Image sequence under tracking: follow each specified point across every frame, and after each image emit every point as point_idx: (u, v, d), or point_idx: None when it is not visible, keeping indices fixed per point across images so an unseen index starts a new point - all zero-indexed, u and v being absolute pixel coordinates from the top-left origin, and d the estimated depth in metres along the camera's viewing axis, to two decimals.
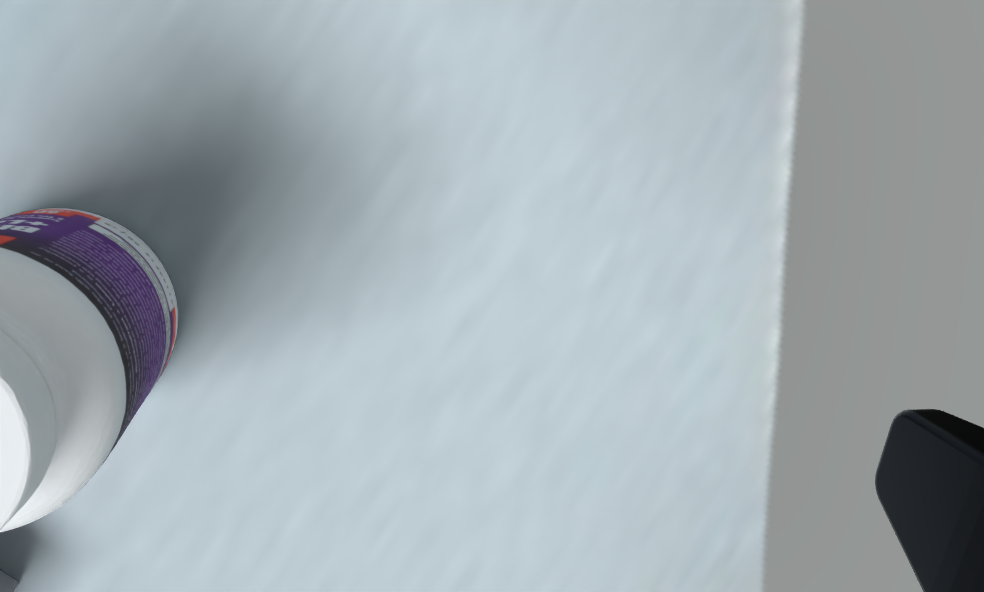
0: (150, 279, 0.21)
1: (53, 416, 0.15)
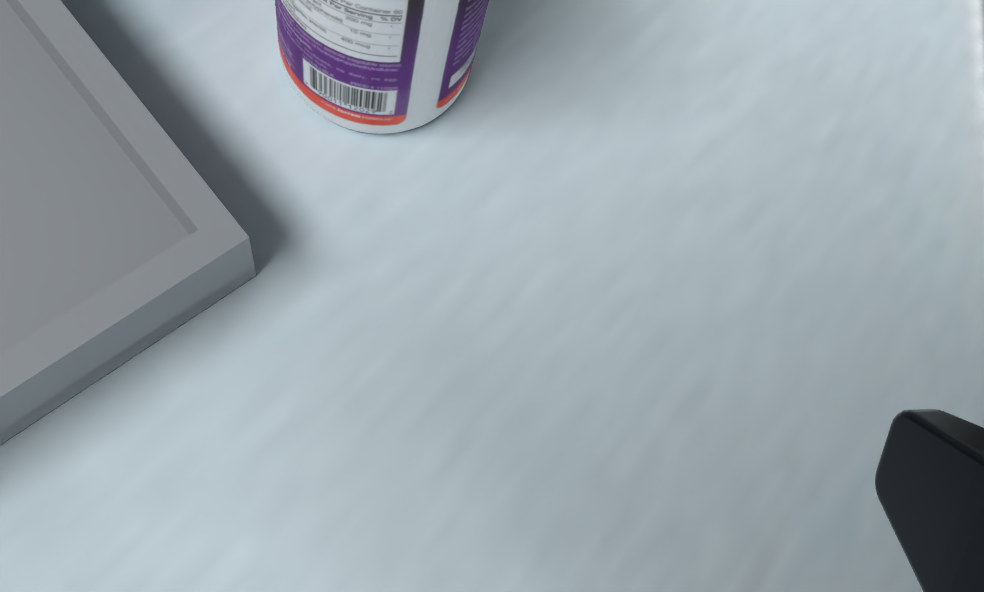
0: None
1: None
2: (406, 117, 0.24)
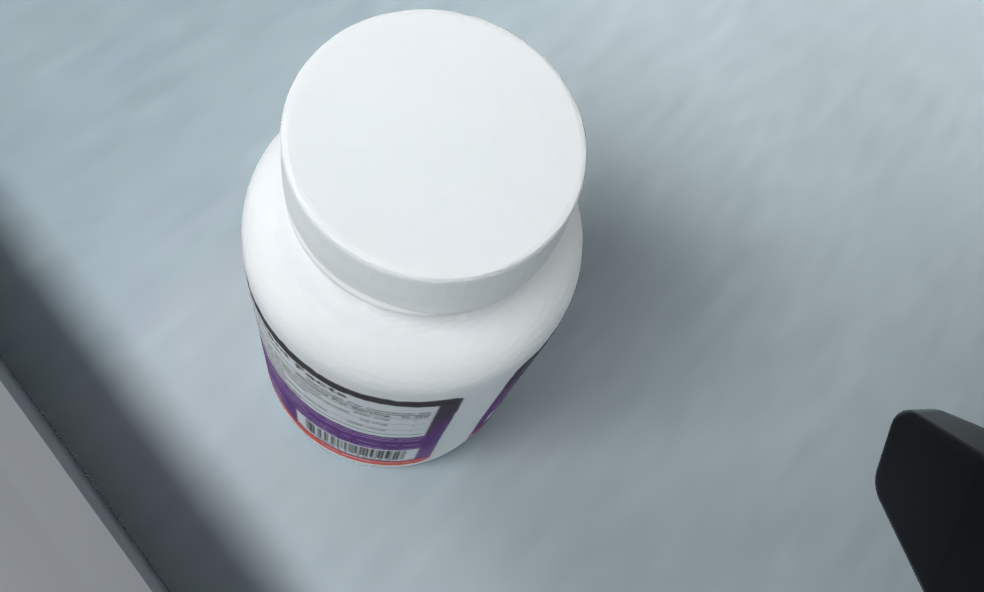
0: None
1: None
2: (429, 457, 0.19)
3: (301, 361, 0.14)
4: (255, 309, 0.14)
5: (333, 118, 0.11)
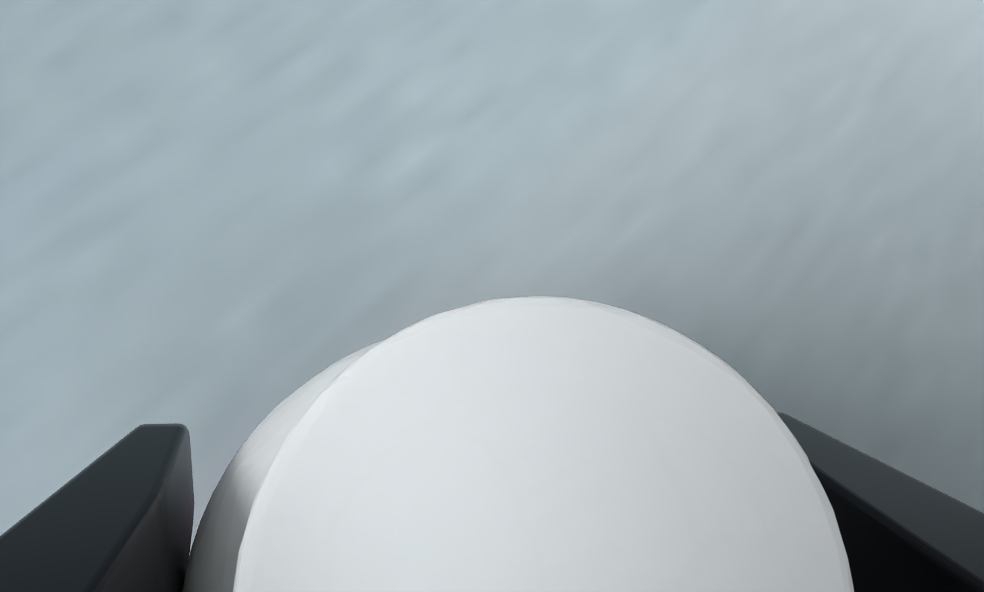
0: None
1: None
2: None
3: None
4: None
5: (345, 571, 0.05)
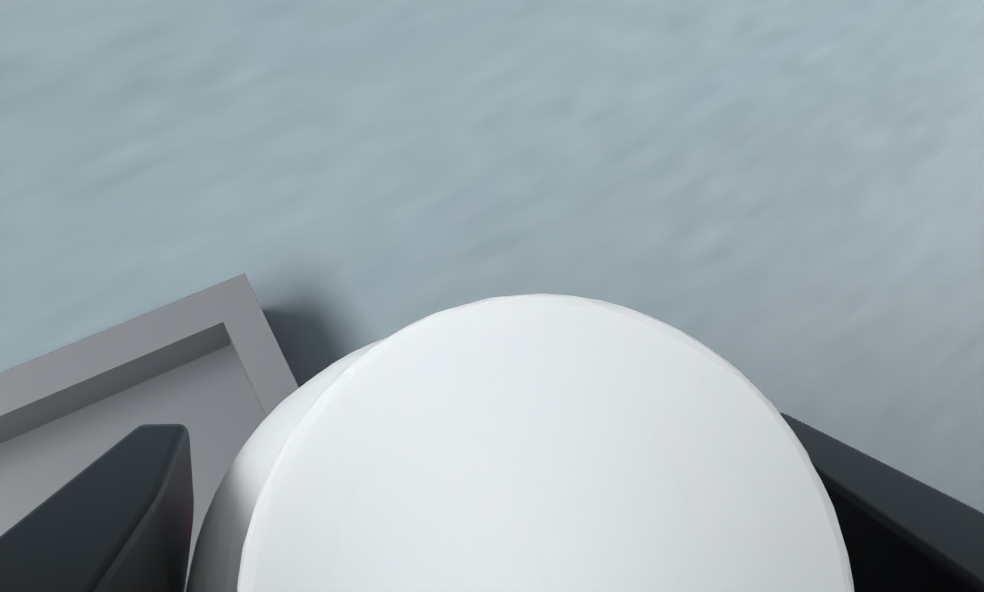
0: None
1: None
2: None
3: None
4: None
5: (348, 567, 0.05)
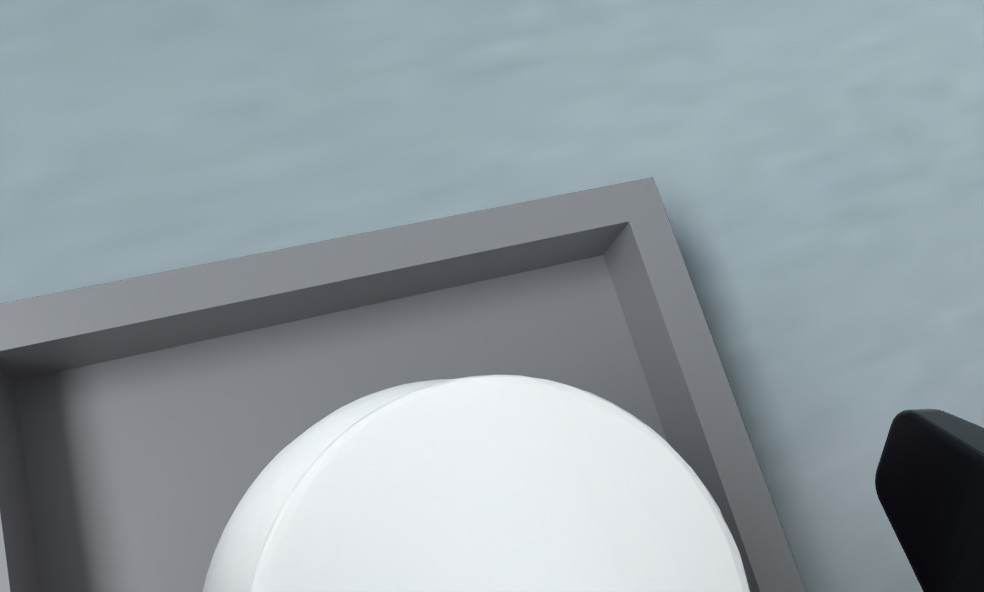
0: None
1: None
2: None
3: None
4: None
5: None
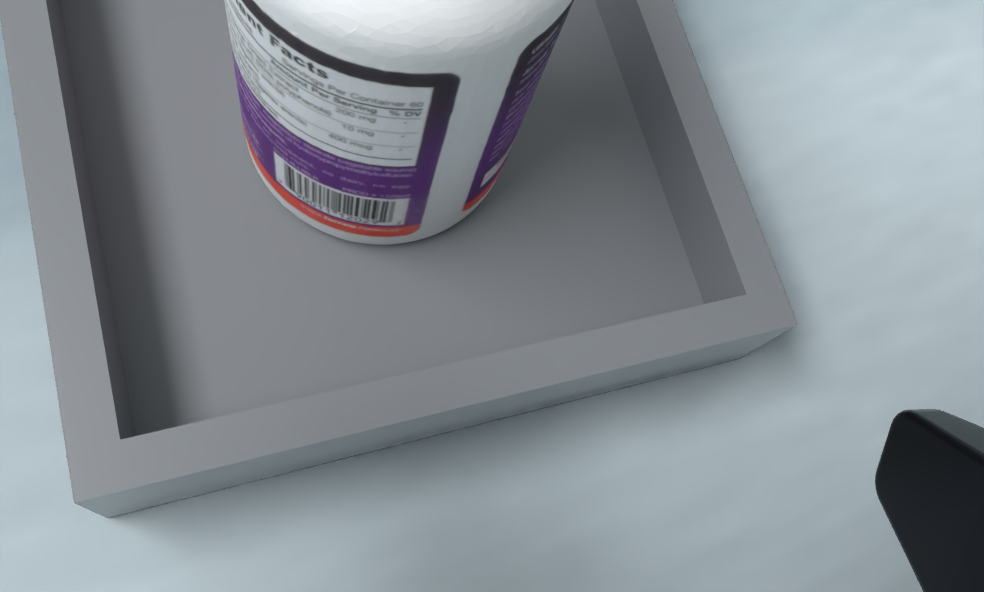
0: None
1: None
2: (420, 226, 0.17)
3: (276, 23, 0.12)
4: None
5: None
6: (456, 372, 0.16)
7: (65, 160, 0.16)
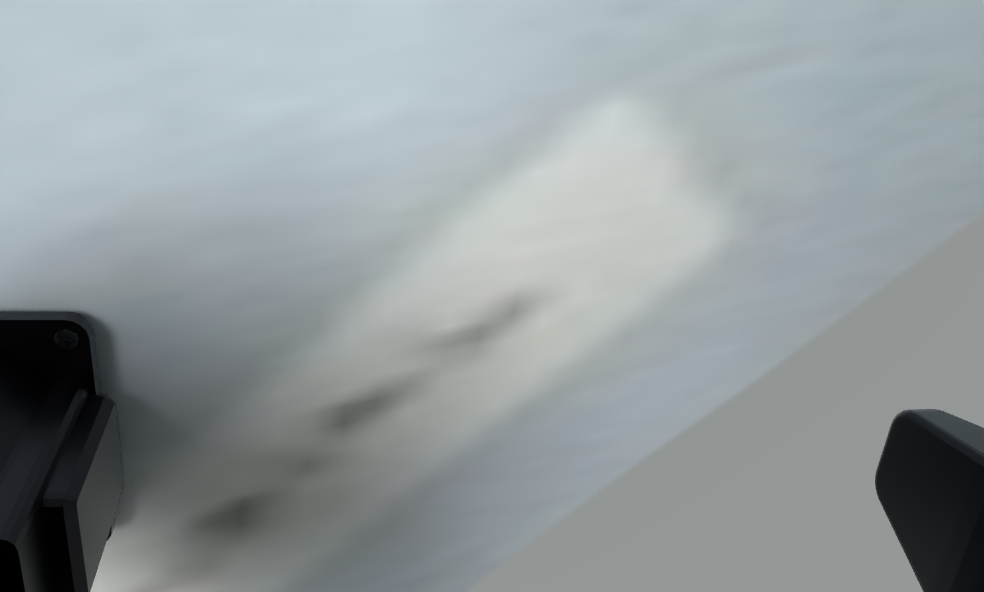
0: None
1: None
2: None
3: None
4: None
5: None
6: None
7: None
